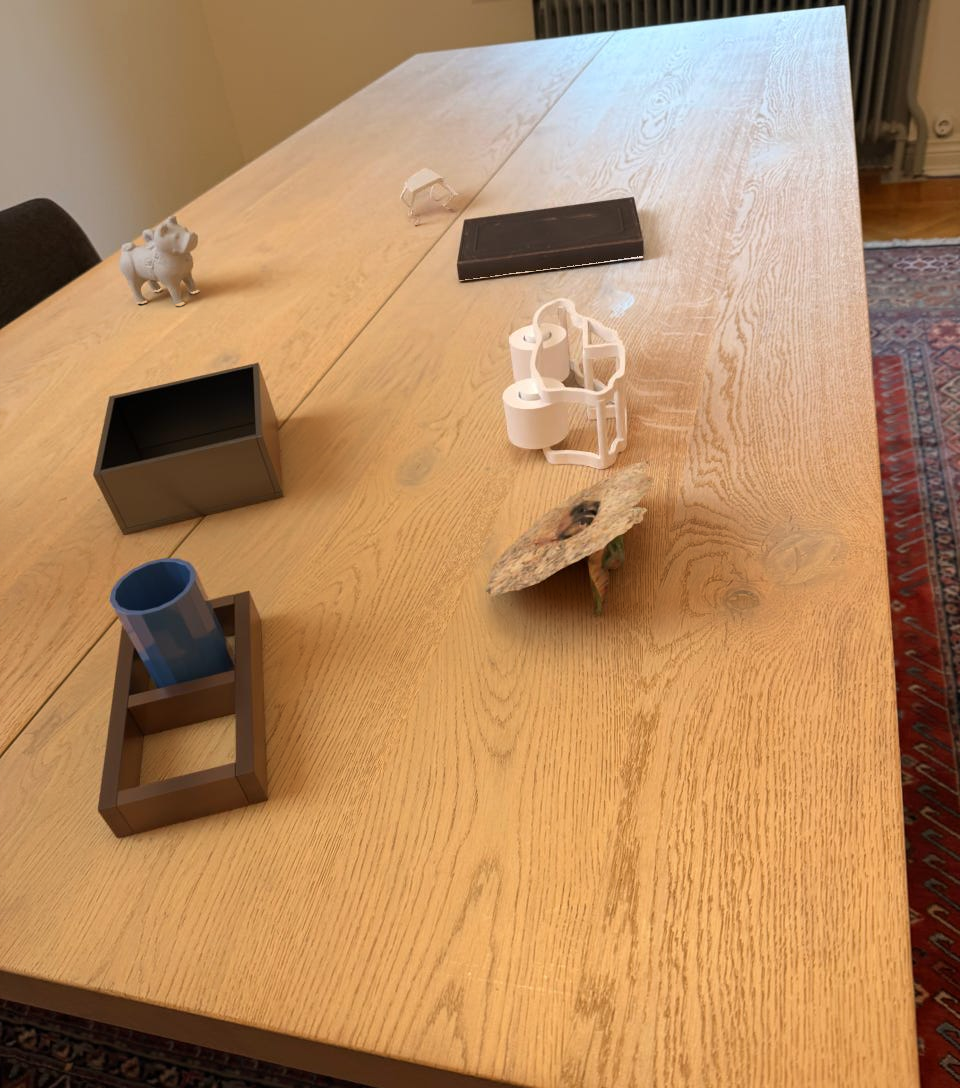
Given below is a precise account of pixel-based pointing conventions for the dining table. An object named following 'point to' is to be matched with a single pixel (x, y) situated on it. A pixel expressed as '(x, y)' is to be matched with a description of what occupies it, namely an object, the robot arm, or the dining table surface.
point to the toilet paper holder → (542, 396)
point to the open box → (189, 449)
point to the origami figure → (422, 182)
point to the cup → (171, 622)
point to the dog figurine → (160, 260)
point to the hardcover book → (549, 238)
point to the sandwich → (577, 535)
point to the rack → (180, 706)
